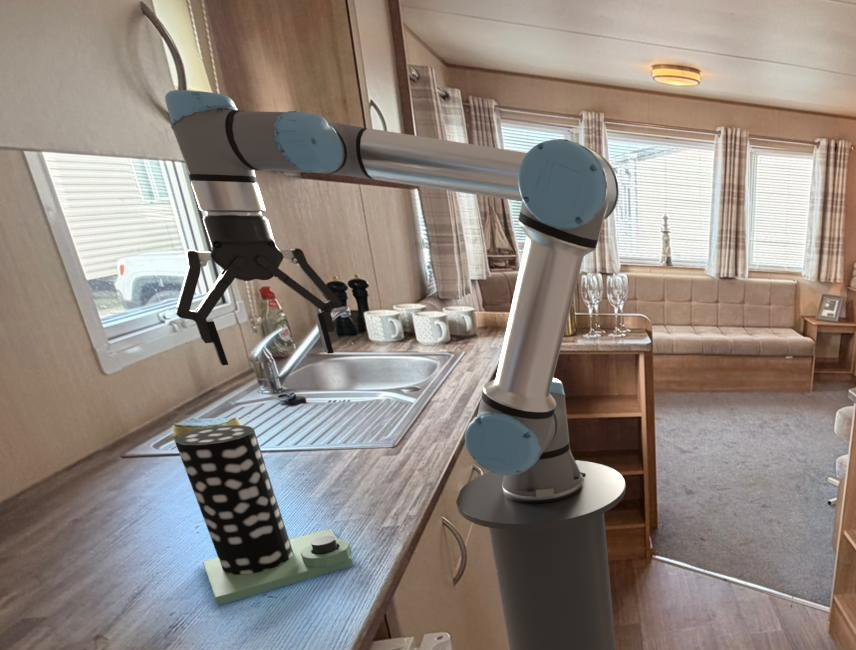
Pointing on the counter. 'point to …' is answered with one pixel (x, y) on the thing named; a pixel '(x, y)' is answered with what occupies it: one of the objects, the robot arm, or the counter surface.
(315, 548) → the button
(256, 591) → the scale
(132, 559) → the counter surface
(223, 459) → the white-spotted black cylinder
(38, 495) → the counter surface
